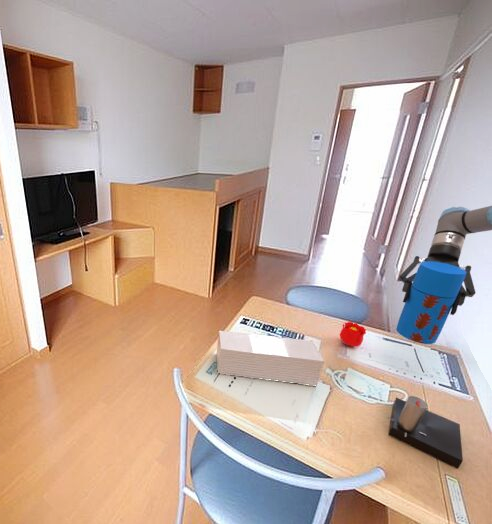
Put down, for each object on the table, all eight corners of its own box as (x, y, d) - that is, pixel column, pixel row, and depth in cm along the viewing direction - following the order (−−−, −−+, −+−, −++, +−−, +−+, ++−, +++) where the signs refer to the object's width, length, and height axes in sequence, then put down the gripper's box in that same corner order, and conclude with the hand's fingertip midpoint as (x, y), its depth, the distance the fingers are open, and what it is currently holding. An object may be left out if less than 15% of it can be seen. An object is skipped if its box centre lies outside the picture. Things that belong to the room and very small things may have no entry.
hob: (455, 431, 85) (460, 423, 84) (458, 472, 75) (463, 463, 74) (388, 402, 95) (391, 394, 93) (382, 435, 84) (386, 427, 83)
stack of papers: (217, 373, 106) (220, 348, 102) (216, 354, 116) (219, 330, 111) (316, 387, 100) (324, 361, 96) (306, 365, 110) (313, 340, 106)
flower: (362, 343, 122) (368, 326, 119) (358, 352, 117) (364, 335, 114) (340, 335, 127) (345, 319, 124) (335, 343, 122) (340, 327, 119)
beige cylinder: (397, 417, 86) (408, 392, 82) (415, 425, 84) (427, 399, 80) (397, 427, 83) (408, 402, 80) (416, 435, 81) (429, 409, 77)
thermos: (400, 322, 111) (424, 258, 101) (439, 335, 103) (469, 268, 94) (391, 333, 104) (416, 266, 95) (432, 348, 97) (464, 277, 87)
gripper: (403, 236, 107) (384, 290, 102) (501, 251, 92) (485, 316, 87) (399, 247, 112) (381, 299, 107) (491, 263, 98) (475, 324, 93)
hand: (428, 306), depth 97 cm, fingers closed on thermos, 11 cm apart
